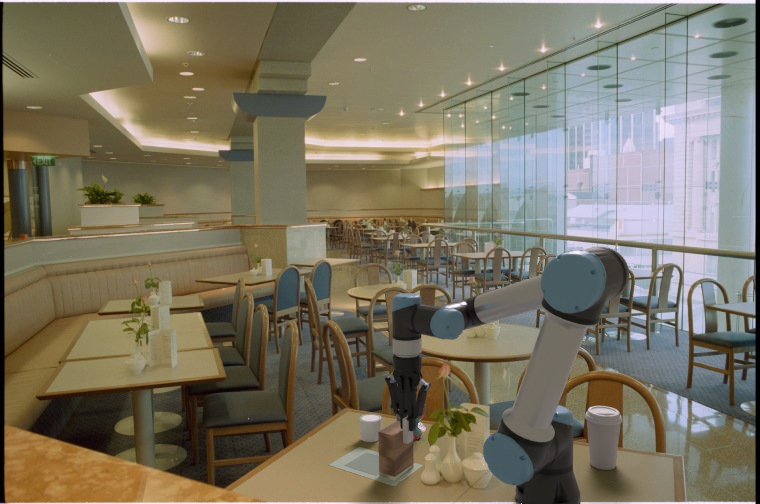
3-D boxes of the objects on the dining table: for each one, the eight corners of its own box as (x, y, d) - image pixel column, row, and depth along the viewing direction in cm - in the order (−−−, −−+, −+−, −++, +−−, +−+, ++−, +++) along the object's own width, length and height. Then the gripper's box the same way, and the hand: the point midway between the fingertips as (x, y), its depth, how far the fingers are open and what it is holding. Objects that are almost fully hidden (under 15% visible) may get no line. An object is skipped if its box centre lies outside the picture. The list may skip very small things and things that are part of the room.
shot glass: (356, 437, 182) (355, 415, 181) (376, 433, 184) (375, 412, 184) (365, 446, 175) (364, 423, 175) (385, 441, 178) (385, 419, 178)
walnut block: (413, 467, 160) (412, 424, 159) (394, 480, 152) (394, 435, 151) (398, 462, 163) (397, 420, 162) (379, 475, 155) (378, 431, 154)
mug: (403, 445, 175) (402, 411, 174) (387, 435, 183) (386, 402, 182) (436, 437, 181) (435, 403, 180) (419, 427, 189) (418, 394, 188)
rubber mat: (423, 467, 161) (423, 465, 161) (394, 488, 150) (394, 485, 150) (359, 448, 174) (359, 446, 174) (328, 466, 162) (328, 464, 162)
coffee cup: (581, 468, 158) (582, 414, 157) (587, 454, 167) (587, 402, 165) (619, 475, 154) (620, 419, 152) (623, 460, 162) (624, 407, 161)
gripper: (436, 354, 151) (436, 442, 154) (394, 347, 159) (395, 431, 161) (420, 360, 145) (421, 452, 148) (378, 353, 153) (379, 440, 155)
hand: (408, 441), depth 155 cm, fingers closed
